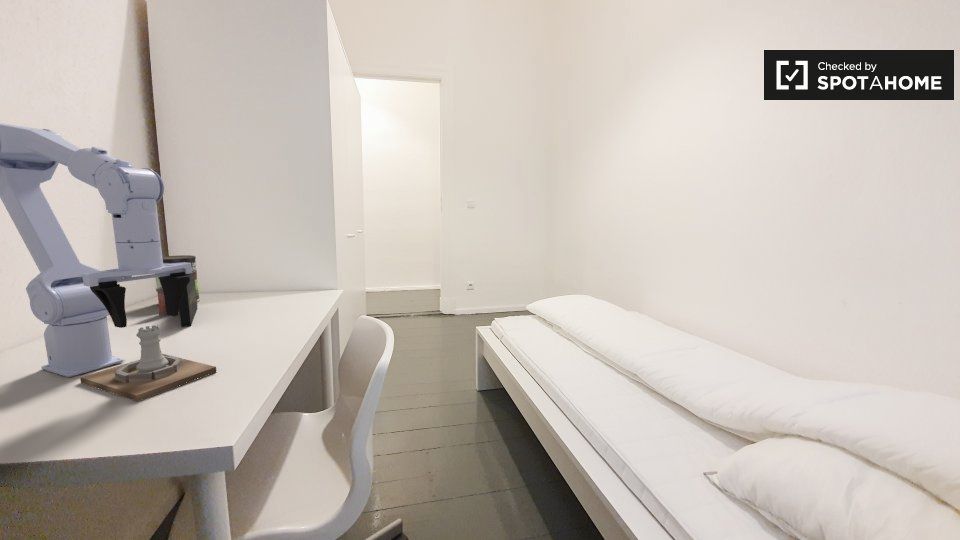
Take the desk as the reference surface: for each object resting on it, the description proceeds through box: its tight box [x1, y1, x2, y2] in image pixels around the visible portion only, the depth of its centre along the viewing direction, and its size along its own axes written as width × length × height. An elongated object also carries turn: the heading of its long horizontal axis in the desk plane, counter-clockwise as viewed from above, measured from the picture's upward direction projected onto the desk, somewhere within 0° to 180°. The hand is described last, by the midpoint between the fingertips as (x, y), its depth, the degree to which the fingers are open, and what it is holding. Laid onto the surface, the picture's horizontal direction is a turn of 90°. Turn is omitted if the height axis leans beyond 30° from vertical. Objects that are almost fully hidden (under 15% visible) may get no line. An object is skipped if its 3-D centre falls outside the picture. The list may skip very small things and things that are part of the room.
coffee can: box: [155, 254, 201, 305], centre depth 120 cm, size 10×10×14 cm
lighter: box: [155, 283, 180, 317], centre depth 109 cm, size 8×3×10 cm, turn 179°
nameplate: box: [179, 275, 198, 328], centre depth 105 cm, size 21×2×10 cm, turn 32°
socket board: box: [79, 353, 217, 403], centre depth 68 cm, size 16×12×2 cm
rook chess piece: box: [135, 325, 169, 373], centre depth 67 cm, size 4×4×8 cm
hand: (148, 320), depth 67 cm, fingers open, 7 cm apart
